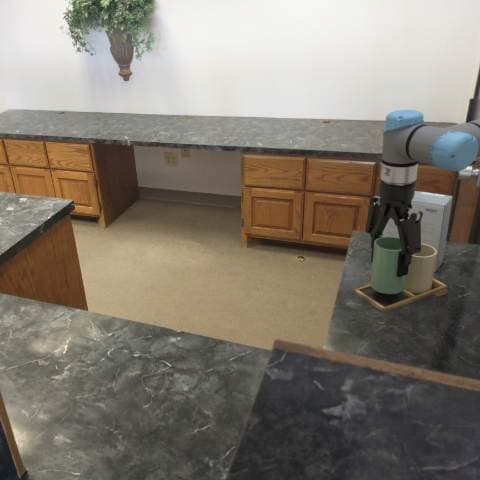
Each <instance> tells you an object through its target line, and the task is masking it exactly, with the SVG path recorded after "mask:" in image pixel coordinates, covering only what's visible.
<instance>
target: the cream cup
mask: <svg viewBox="0 0 480 480" xmlns="http://www.w3.org/2000/svg"><path fill="white" fill-rule="evenodd" d="M436 255H437V250H436V249H435V248H434V247H432V246H430V245H427V244H422V243H421V251H420V252H417V253H414V254H412V260H411V264H410V265H409V268H408V274H407V275H405V284H404V289H405V290H407V291H409V292H410V293H412V294H417V295H419V294H421V293H424V292H427V291H429V290H432V288H431V287H432V280H433V278H434V274H435V272H434V268H435V261H436Z"/></svg>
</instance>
